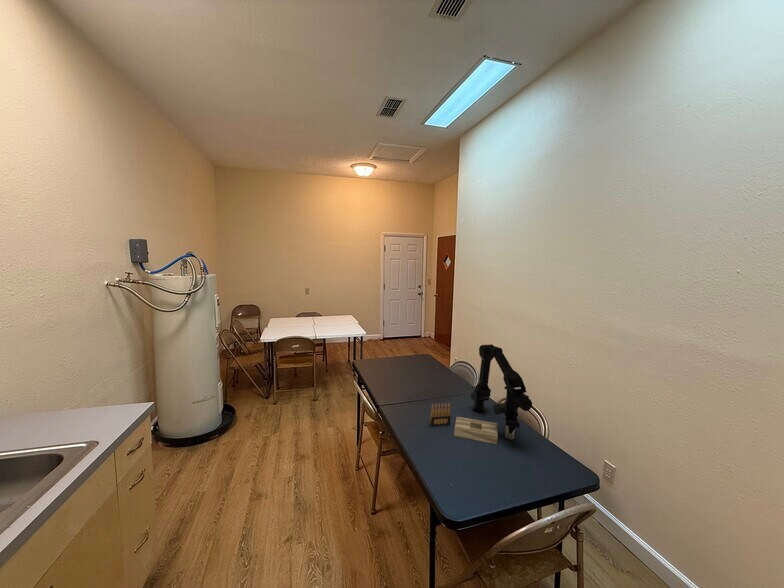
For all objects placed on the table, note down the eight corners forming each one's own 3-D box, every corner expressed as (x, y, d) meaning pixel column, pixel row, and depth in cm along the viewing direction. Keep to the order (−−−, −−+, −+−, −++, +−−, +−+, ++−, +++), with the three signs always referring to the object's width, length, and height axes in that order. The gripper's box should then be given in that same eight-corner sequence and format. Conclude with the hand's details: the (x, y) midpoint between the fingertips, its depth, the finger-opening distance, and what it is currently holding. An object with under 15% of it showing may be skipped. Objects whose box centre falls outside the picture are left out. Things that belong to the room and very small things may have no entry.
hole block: (456, 423, 167) (456, 416, 166) (496, 430, 161) (496, 423, 161) (454, 436, 155) (454, 428, 155) (497, 444, 150) (497, 436, 149)
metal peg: (504, 434, 158) (506, 415, 157) (513, 435, 157) (515, 416, 156) (505, 438, 154) (506, 419, 153) (514, 440, 153) (515, 420, 152)
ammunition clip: (430, 426, 163) (431, 404, 162) (429, 424, 165) (430, 403, 164) (450, 425, 165) (451, 403, 164) (449, 423, 167) (450, 401, 165)
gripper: (494, 390, 164) (492, 419, 166) (495, 407, 147) (493, 438, 149) (517, 393, 161) (515, 422, 163) (521, 411, 143) (518, 443, 145)
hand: (509, 431), depth 155 cm, fingers closed on metal peg, 4 cm apart
